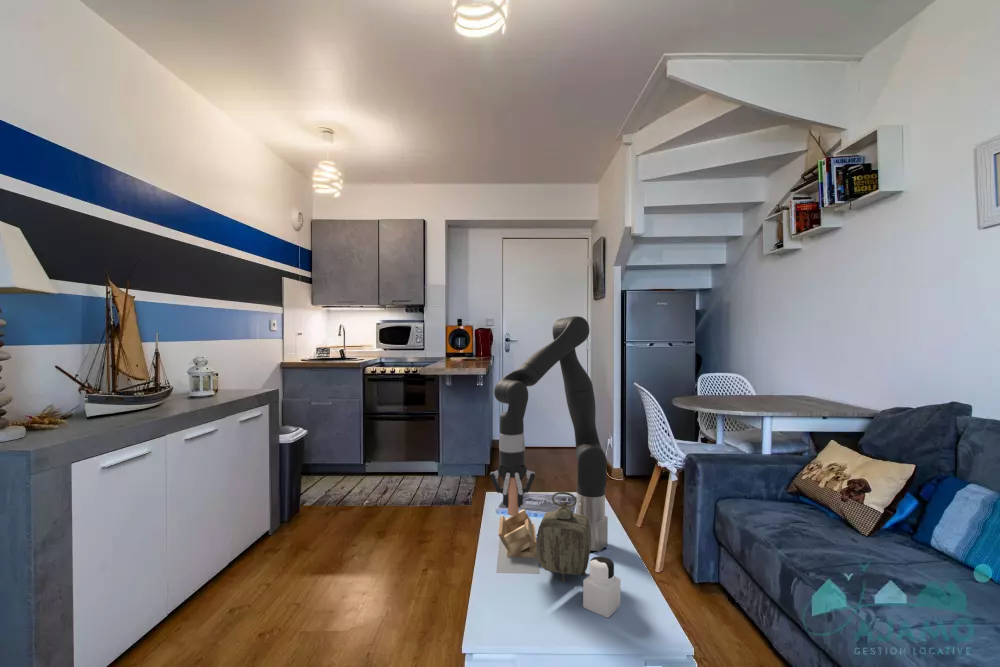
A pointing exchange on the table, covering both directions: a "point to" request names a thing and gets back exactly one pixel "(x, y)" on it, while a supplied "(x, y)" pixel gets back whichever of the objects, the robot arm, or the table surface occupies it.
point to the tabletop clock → (564, 540)
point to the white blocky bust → (601, 587)
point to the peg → (512, 497)
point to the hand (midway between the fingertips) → (513, 506)
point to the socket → (518, 535)
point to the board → (516, 562)
